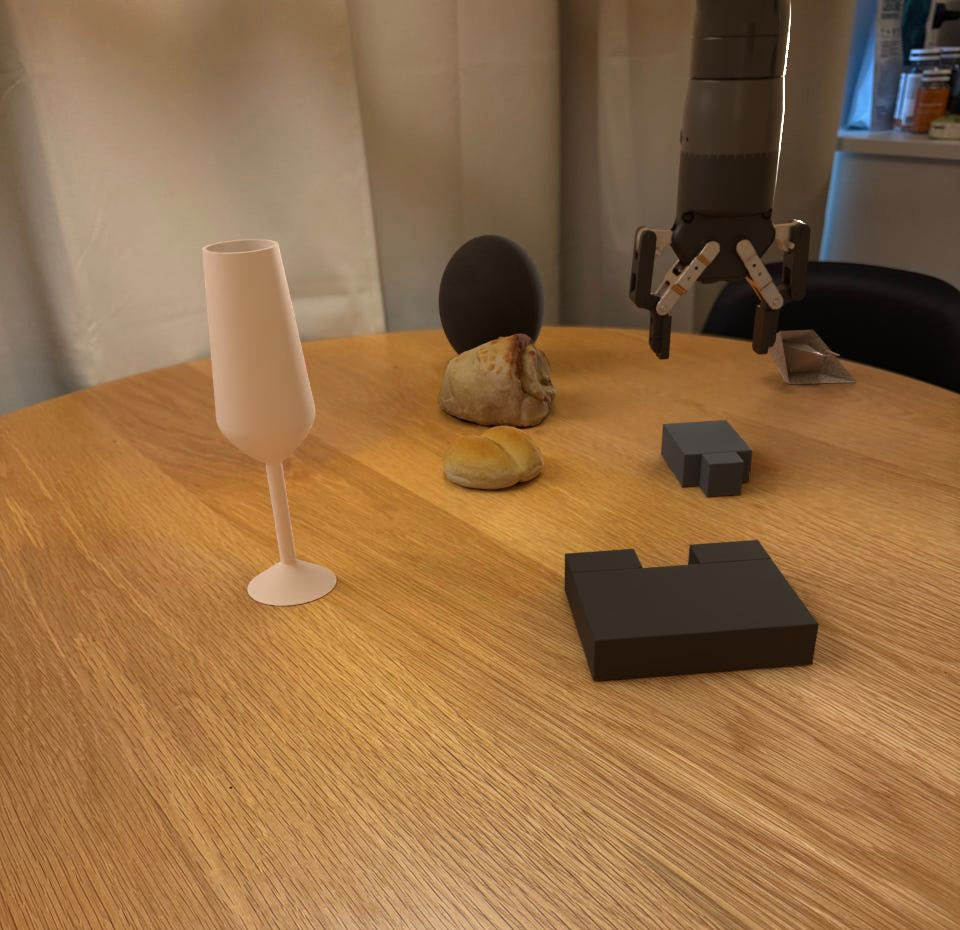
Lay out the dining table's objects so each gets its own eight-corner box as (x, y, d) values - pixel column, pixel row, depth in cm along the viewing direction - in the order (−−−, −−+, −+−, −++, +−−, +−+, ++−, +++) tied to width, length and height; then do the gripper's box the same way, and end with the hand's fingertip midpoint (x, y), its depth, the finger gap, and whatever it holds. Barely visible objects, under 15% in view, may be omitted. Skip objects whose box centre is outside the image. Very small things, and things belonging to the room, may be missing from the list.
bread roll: (428, 471, 93) (425, 430, 91) (510, 451, 97) (509, 411, 95) (473, 501, 87) (471, 457, 85) (559, 477, 91) (558, 435, 89)
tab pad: (723, 450, 95) (726, 419, 94) (758, 493, 86) (762, 460, 85) (660, 454, 95) (662, 423, 93) (689, 498, 86) (691, 465, 84)
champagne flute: (355, 582, 75) (315, 243, 63) (280, 615, 71) (222, 261, 59) (302, 555, 80) (255, 232, 67) (229, 585, 76) (165, 248, 63)
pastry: (573, 423, 103) (574, 344, 99) (455, 437, 101) (451, 358, 97) (534, 383, 115) (533, 312, 111) (427, 396, 113) (422, 323, 108)
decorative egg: (452, 388, 115) (444, 249, 107) (434, 359, 125) (426, 230, 117) (557, 377, 116) (557, 240, 109) (531, 349, 127) (529, 222, 119)
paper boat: (830, 354, 116) (889, 351, 108) (808, 406, 117) (866, 407, 108) (754, 306, 111) (811, 299, 103) (732, 361, 111) (786, 359, 103)
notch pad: (753, 576, 74) (758, 539, 72) (812, 664, 63) (819, 623, 62) (564, 590, 73) (564, 553, 71) (593, 681, 63) (594, 640, 61)
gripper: (650, 153, 74) (638, 372, 82) (839, 145, 75) (808, 362, 83) (628, 143, 80) (619, 347, 89) (802, 136, 81) (777, 339, 90)
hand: (711, 354), depth 86 cm, fingers open, 8 cm apart
